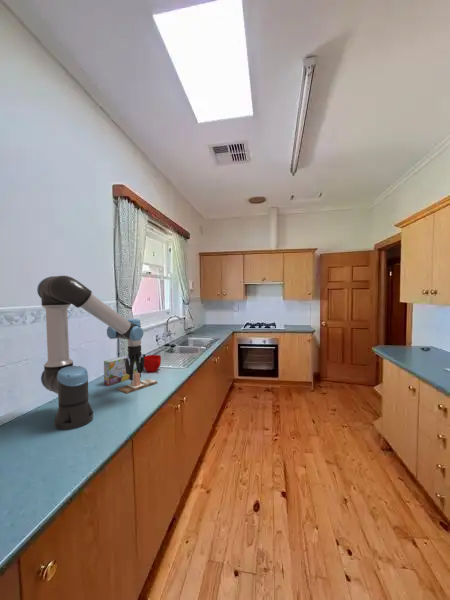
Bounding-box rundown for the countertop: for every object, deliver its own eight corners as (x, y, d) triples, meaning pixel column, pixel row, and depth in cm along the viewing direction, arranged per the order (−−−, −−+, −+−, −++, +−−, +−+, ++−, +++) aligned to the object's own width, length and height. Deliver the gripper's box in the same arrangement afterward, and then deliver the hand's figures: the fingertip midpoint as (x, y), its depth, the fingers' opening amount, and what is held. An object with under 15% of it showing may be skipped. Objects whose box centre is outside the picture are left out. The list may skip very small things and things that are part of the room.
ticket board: (126, 393, 152) (126, 390, 152) (118, 390, 158) (118, 387, 158) (157, 383, 168) (157, 380, 168) (148, 380, 174) (148, 378, 174)
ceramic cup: (151, 376, 183) (151, 361, 183) (139, 371, 195) (138, 357, 194) (168, 371, 192) (167, 357, 192) (154, 367, 204) (154, 354, 204)
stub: (134, 388, 156) (134, 376, 156) (126, 385, 161) (126, 373, 161) (144, 385, 161) (143, 373, 161) (136, 382, 166) (136, 370, 166)
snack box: (109, 386, 164) (108, 361, 164) (103, 384, 167) (103, 360, 167) (137, 376, 182) (137, 354, 182) (132, 375, 185) (131, 353, 185)
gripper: (142, 342, 169) (143, 379, 170) (118, 346, 157) (119, 386, 157) (149, 343, 164) (150, 381, 165) (125, 348, 152) (126, 389, 153)
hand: (135, 384), depth 161 cm, fingers closed on stub, 3 cm apart
